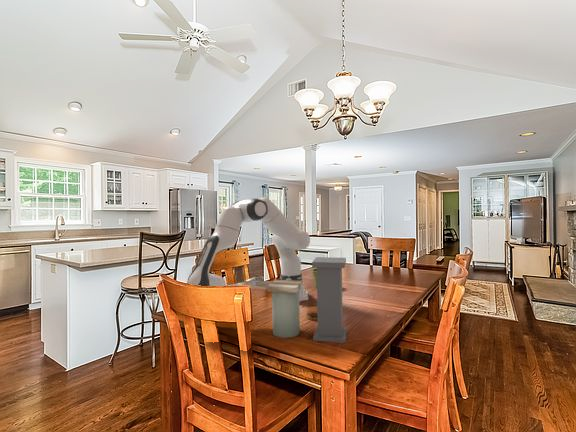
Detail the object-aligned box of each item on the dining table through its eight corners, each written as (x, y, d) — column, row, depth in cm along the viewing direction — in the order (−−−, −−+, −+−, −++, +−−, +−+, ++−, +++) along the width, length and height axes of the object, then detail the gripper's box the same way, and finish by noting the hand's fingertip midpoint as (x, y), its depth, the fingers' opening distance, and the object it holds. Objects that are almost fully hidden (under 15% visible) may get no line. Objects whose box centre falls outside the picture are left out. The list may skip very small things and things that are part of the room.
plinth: (317, 328, 131) (316, 257, 130) (346, 330, 128) (345, 257, 128) (313, 340, 119) (312, 262, 119) (345, 343, 116) (344, 262, 116)
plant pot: (309, 285, 204) (309, 268, 204) (327, 284, 207) (327, 267, 206) (314, 290, 193) (314, 272, 193) (333, 289, 195) (332, 271, 195)
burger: (304, 320, 141) (304, 310, 141) (309, 313, 150) (309, 304, 150) (326, 322, 139) (326, 311, 139) (329, 315, 148) (329, 305, 148)
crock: (276, 326, 134) (276, 284, 134) (302, 328, 132) (301, 285, 132) (269, 336, 124) (268, 291, 123) (296, 338, 121) (296, 292, 121)
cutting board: (248, 283, 137) (248, 278, 137) (302, 285, 132) (302, 280, 132) (238, 290, 126) (238, 285, 126) (296, 292, 120) (296, 287, 120)
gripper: (218, 295, 123) (246, 278, 120) (238, 283, 143) (262, 268, 140) (225, 309, 122) (254, 293, 119) (244, 295, 142) (269, 281, 139)
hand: (259, 280), depth 130 cm, fingers open, 8 cm apart
